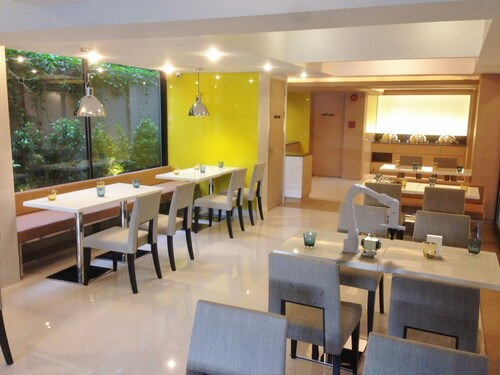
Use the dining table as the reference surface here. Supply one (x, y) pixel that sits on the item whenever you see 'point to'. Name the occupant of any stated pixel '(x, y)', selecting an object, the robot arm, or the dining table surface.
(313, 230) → the dining table surface
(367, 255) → the guide rails
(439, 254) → the base with upright slab
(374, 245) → the pneumatic valve
